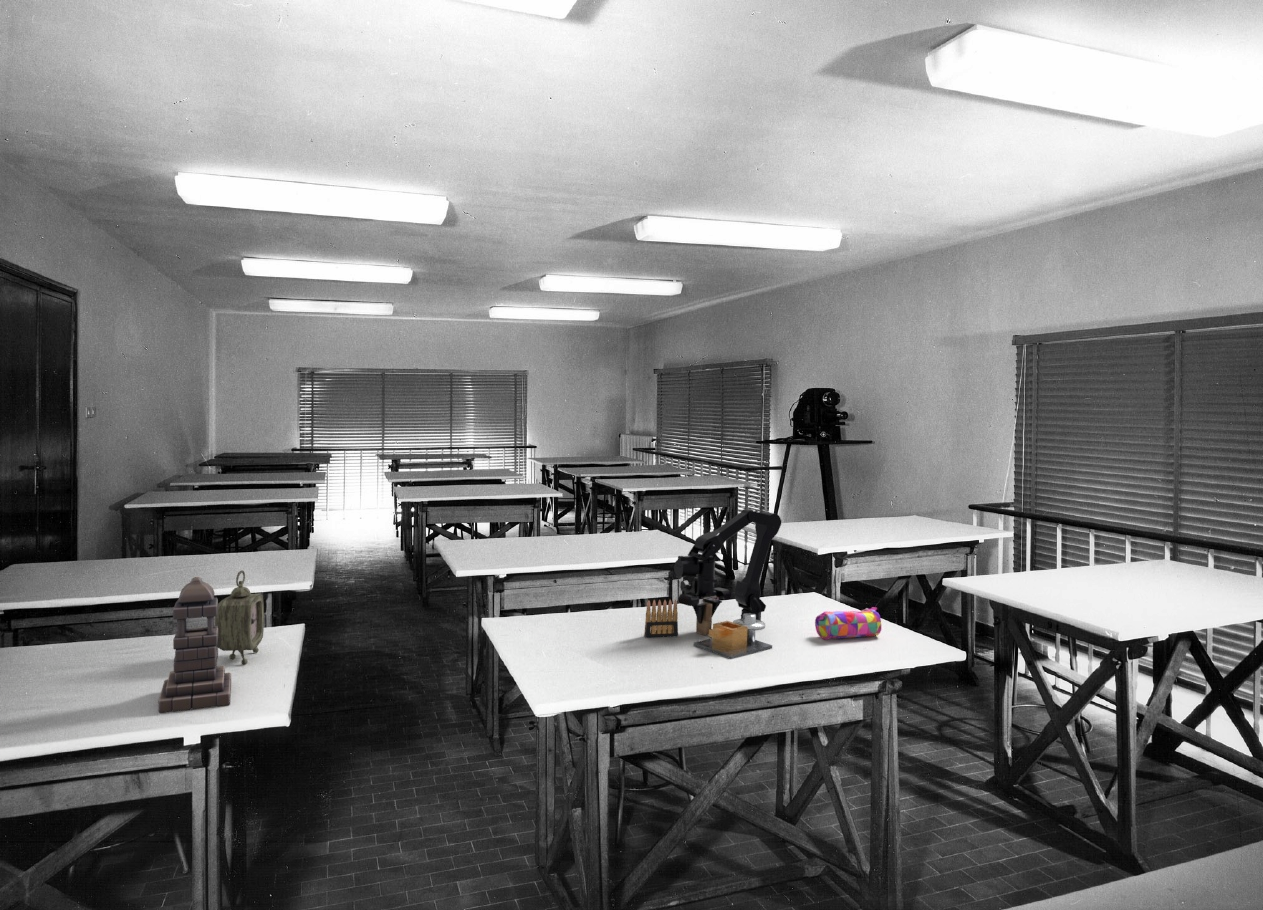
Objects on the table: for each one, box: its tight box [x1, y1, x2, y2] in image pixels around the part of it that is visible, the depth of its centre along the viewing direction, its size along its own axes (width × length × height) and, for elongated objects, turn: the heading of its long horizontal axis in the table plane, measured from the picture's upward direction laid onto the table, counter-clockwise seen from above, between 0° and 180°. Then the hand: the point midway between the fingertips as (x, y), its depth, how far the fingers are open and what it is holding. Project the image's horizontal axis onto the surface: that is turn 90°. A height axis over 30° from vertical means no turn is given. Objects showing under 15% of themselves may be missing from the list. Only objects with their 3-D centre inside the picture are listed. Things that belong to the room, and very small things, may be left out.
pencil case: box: [814, 606, 882, 641], centre depth 268 cm, size 22×9×9 cm, turn 113°
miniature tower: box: [158, 576, 232, 714], centre depth 199 cm, size 16×15×30 cm
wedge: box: [695, 600, 713, 636], centre depth 267 cm, size 2×4×10 cm, turn 39°
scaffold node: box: [693, 613, 773, 660], centre depth 254 cm, size 21×16×9 cm
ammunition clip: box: [643, 598, 679, 639], centre depth 262 cm, size 11×2×12 cm, turn 102°
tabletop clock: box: [214, 570, 265, 666], centre depth 230 cm, size 14×9×25 cm, turn 9°
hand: (704, 622), depth 267 cm, fingers open, 3 cm apart
